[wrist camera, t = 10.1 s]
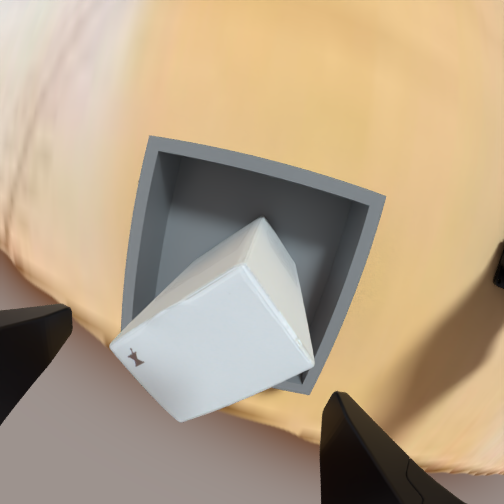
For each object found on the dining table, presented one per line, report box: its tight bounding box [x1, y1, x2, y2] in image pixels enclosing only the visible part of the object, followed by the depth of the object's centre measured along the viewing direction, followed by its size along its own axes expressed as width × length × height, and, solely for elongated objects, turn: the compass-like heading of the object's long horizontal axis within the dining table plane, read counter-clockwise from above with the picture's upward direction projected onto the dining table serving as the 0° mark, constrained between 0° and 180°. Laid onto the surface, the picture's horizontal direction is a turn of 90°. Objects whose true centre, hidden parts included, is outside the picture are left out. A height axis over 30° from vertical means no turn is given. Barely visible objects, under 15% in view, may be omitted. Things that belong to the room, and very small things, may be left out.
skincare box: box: [110, 216, 315, 422], centre depth 14 cm, size 6×4×12 cm
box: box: [121, 136, 386, 395], centre depth 18 cm, size 14×14×4 cm
